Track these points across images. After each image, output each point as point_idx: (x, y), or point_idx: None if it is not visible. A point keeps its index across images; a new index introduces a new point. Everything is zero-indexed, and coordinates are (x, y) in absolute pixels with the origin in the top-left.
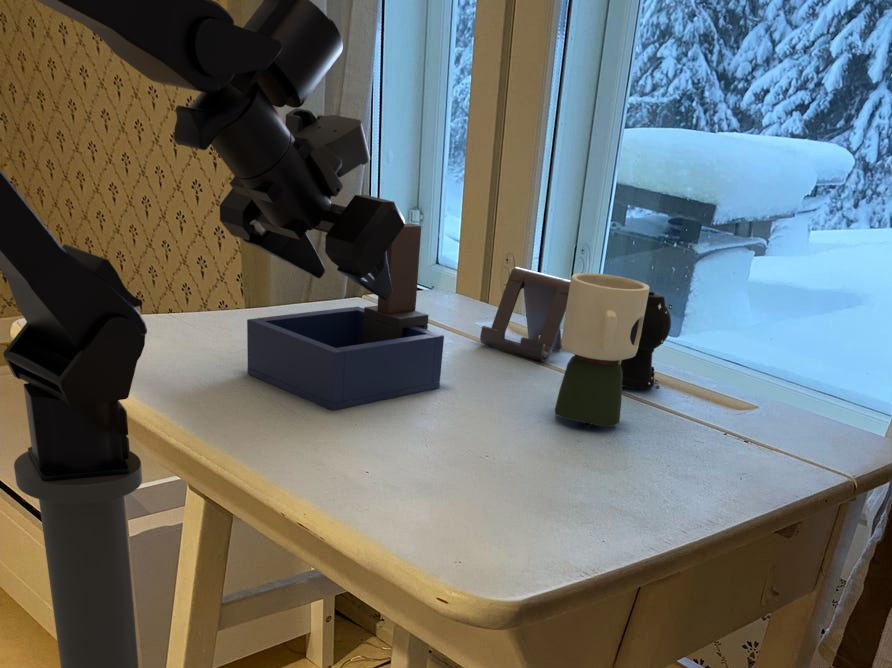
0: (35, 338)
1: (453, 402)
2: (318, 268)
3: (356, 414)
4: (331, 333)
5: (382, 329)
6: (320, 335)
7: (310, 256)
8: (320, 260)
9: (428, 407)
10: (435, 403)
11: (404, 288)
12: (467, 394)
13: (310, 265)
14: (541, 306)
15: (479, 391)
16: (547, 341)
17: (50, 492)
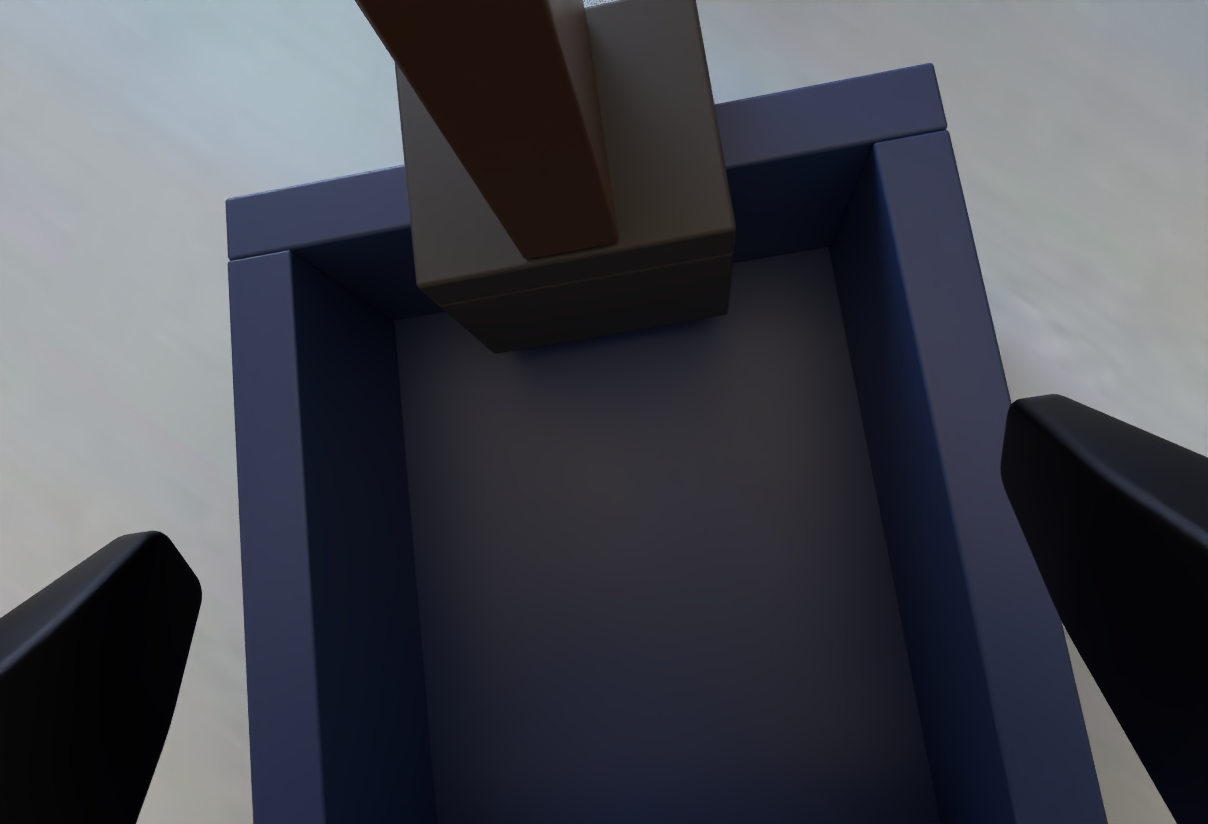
0: None
1: (1065, 258)
2: (144, 615)
3: None
4: (355, 452)
5: (602, 288)
6: (362, 529)
7: (45, 745)
8: (94, 605)
9: (1094, 408)
10: (1052, 344)
11: (576, 17)
12: (983, 132)
13: (125, 729)
14: None
15: (962, 58)
16: None
17: None
